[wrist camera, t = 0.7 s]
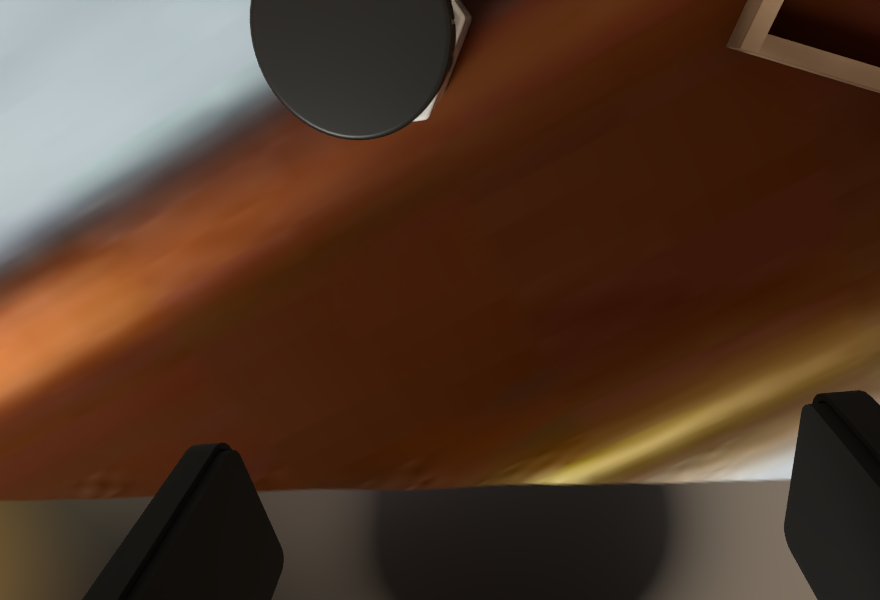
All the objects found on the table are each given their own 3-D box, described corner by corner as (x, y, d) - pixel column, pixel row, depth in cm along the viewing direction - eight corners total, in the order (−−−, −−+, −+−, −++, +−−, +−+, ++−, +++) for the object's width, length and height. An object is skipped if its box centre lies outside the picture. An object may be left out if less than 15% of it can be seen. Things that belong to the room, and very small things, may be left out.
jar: (498, 48, 32) (501, 63, 21) (393, 135, 35) (350, 186, 24) (400, -96, 29) (348, -162, 19) (295, 11, 32) (197, 7, 21)
